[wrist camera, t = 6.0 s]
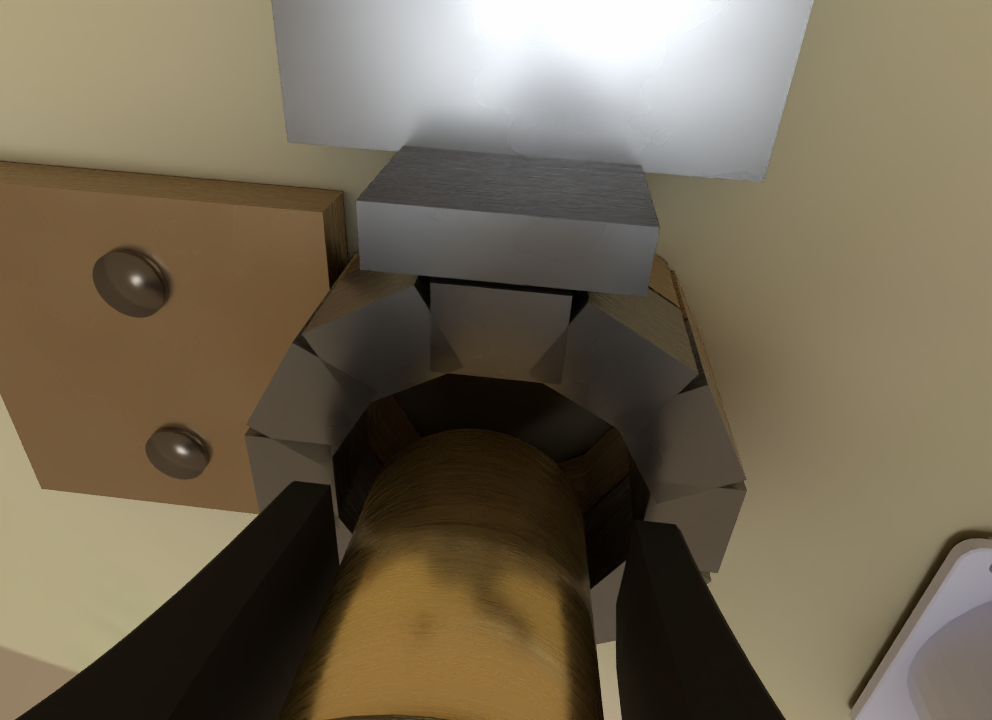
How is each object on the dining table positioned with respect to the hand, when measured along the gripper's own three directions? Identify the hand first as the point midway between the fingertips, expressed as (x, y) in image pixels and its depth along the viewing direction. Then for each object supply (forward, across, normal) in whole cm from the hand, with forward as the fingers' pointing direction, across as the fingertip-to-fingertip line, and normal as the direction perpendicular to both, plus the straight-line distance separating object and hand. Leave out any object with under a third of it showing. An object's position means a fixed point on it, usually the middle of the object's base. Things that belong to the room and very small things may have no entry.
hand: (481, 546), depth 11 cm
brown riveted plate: (+5, +4, 0) cm, 6 cm away
